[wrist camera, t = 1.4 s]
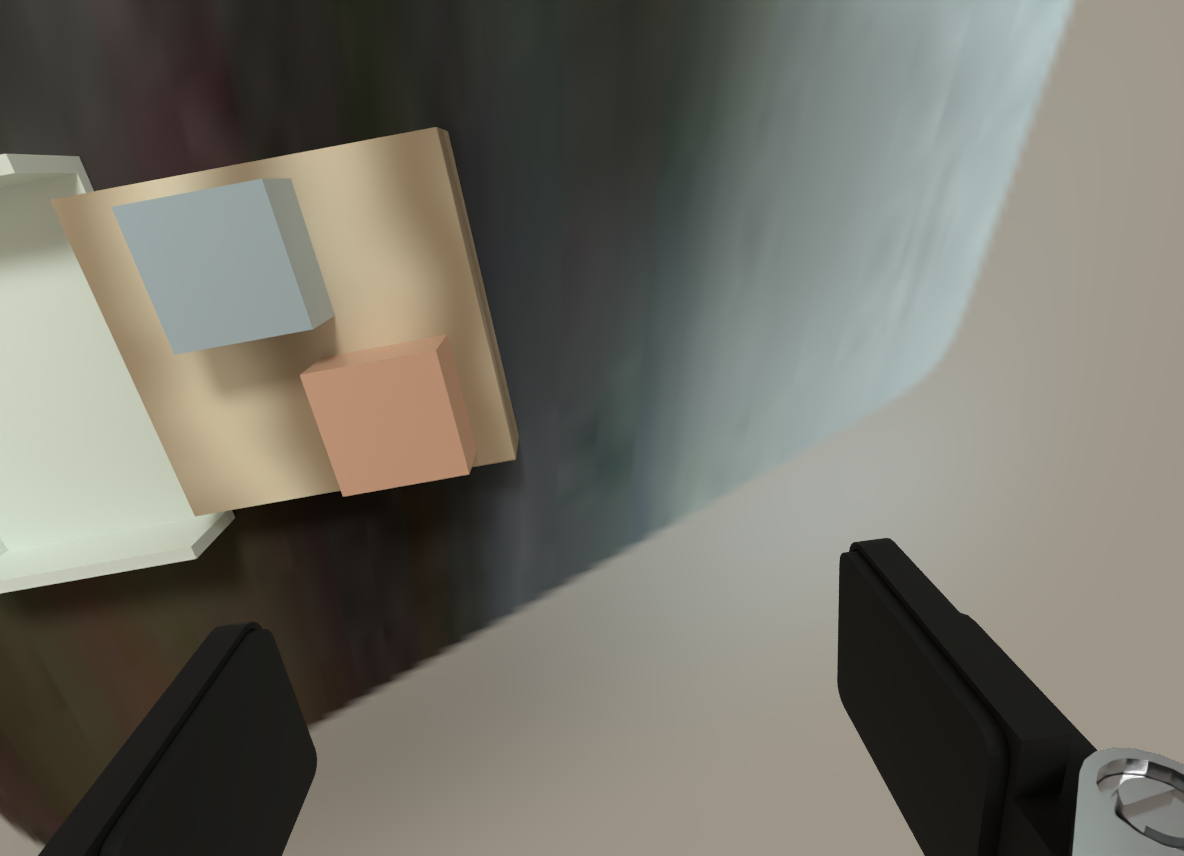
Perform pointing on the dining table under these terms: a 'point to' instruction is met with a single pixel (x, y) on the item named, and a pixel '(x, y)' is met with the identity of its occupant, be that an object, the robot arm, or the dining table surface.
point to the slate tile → (227, 263)
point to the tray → (73, 411)
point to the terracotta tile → (391, 415)
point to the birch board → (273, 365)
